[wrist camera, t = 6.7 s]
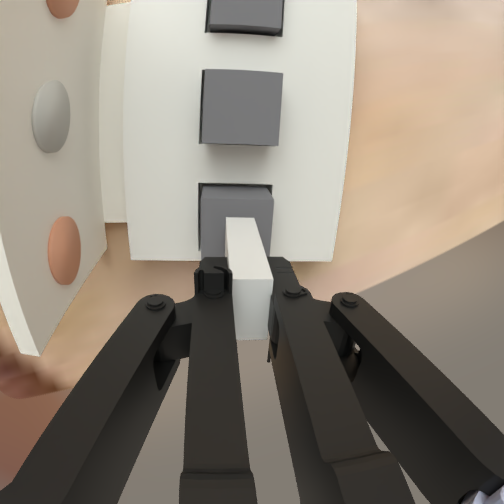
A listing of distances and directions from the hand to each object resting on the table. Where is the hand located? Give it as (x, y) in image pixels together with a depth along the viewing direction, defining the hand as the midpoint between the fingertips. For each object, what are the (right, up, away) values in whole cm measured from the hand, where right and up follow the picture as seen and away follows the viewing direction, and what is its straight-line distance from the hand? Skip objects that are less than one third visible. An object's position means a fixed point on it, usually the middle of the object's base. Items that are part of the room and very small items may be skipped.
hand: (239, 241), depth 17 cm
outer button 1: (0, +15, -1) cm, 15 cm away
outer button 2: (-1, +2, +3) cm, 4 cm away
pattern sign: (-10, +9, +2) cm, 14 cm away
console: (0, +9, +3) cm, 10 cm away
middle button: (0, +8, +1) cm, 8 cm away
